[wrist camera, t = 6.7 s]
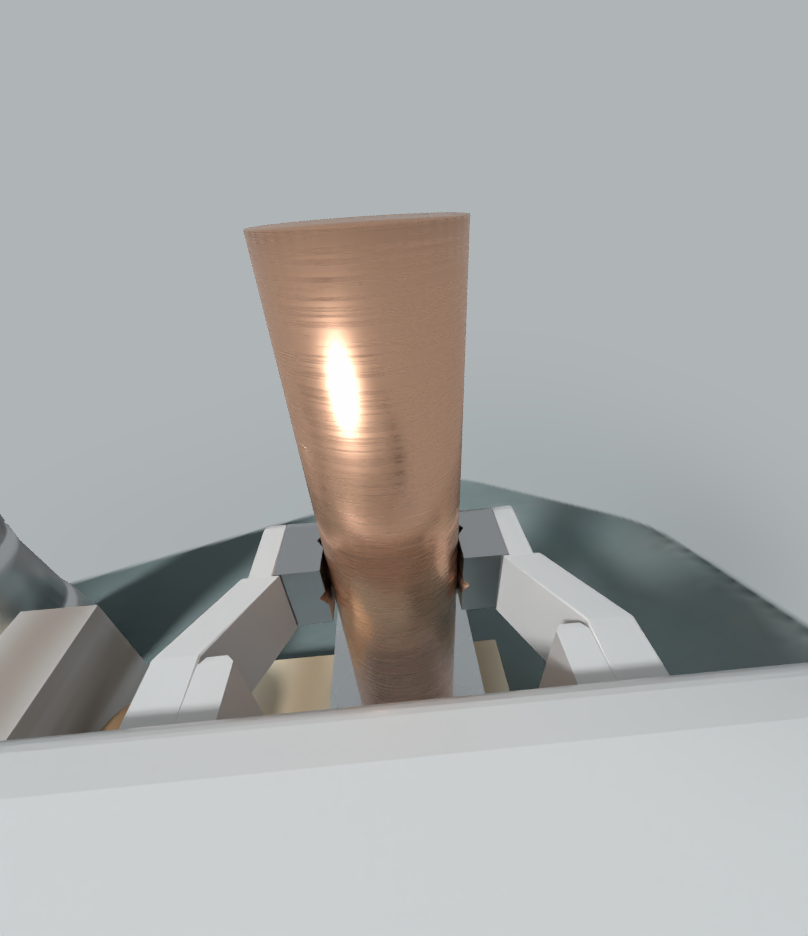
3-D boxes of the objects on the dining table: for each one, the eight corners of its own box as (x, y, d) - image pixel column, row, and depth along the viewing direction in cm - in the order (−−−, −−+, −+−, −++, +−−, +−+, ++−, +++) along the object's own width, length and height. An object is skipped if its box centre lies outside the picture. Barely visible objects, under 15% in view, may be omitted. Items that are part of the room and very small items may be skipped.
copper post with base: (346, 882, 13) (-74, 273, 2) (354, 669, 18) (243, 220, 8) (497, 866, 13) (736, 217, 2) (458, 659, 18) (481, 204, 8)
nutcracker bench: (-36, 982, 13) (-301, 961, 8) (113, 696, 20) (16, 602, 16) (558, 916, 13) (620, 861, 9) (492, 660, 21) (506, 558, 16)
